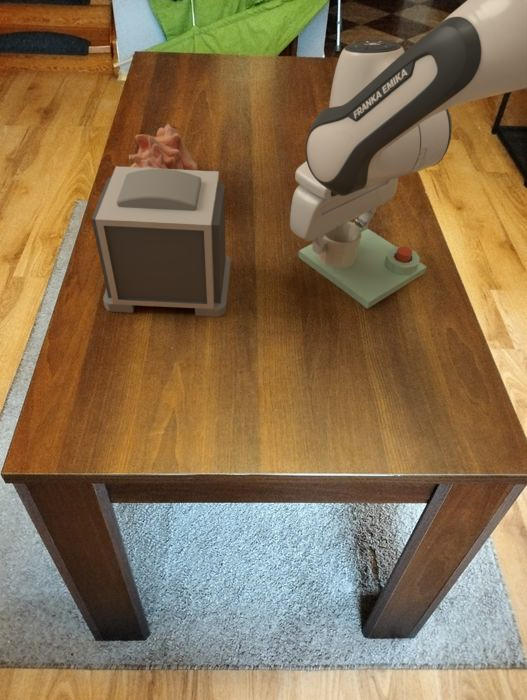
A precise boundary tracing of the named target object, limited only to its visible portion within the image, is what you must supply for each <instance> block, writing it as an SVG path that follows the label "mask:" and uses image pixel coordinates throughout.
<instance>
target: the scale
mask: <svg viewBox="0 0 527 700" xmlns="http://www.w3.org/2000/svg"><path fill="white" fill-rule="evenodd" d="M353 223H354V224H355V221H354V222H353ZM312 246H313V243H311V244H309V245H307V246H305V247H303V248H300V249H299V250H298V255H297V256H298V257H297V258H299V259H300V260H301V261H302V262H304V263H305V264H307V265H308V266H309V267H311V268H312V270H313V269H314V270H315V271H316V272H317V273H319V274H320V275H321V276H323V277H324V278H326V279H327V280H328V281H329V282H331V283H332V284H333V285H335V286H336V287H337V288H338V289H340V290H342V291H343V292H344V293H346V294H347V295H348V296H350V297H351V298H352V299H354V300H355V301H356V302H358V303H359V304H361V306H363V307H365V308H366V309H370V308H372V306H374V305H376V304H377V303H379V302H381V301H382V300H384V299H386V298H387V297H389V296H390V295H392V294H394V293H395V292H397V291H398V290H400V289H402V288H404V287H405V286H408V284H410V283H411V282H413V281H414V280H416V279H418V278H419V277H422V276H423V275H425V274H426V271H427V268H428V266H426V265H425V264H423V263H422V262H420V260H421V257H420V256H419V254H418V252H416V251H415V250H413V249H411V250H412V255H411V259H410V261H409V262H408V263H403V262H399V261H397V260H396V258H395V257H396V253H397V249H398V248H399V247H400V246H396V245H394V244H392V243H391V242H390V241H388V240H386V239H385V238H383V237H382V236H380V235H379V234H378V233H376V232H374V231H372V230H371V229H369V227H368V228H367V230H365V231H363V232H361V240H360V245H359V250H358V255H357V259H356V262H355V263H354V264H353V265H352V266H350V267H348V268H344V269H334V268H330V267H327V266H325V265H323V264H322V263H321V262H320V261H319V260H318V258H317V253H316V252H314V251H313V249H312Z"/></svg>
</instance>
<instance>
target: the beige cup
mask: <svg viewBox="0 0 527 700" xmlns="http://www.w3.org/2000/svg"><path fill="white" fill-rule="evenodd" d="M321 239H323V241H325V242H327V243H328V244H327V247H326V248H327V250H326V251H325V252H323V253H321V254H317V258H318V260H319V261H320V262H321V263H322V264H323V265H325V266H327V267H330V268H334V269H344V268H348V267H350V266H352V265H353V264H354V263H355V262H356V259H357V255H358V250H359V245H360V240H361V230H360V228H359V227H358V226H357V225H355V224H354V222H352V221H349V222H347V223H345V224H343V225H341V226H339V227H337V228H335V229H333V230H331V231H329V232H327V233H325V235H324V237H323V238H321Z"/></svg>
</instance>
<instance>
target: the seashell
mask: <svg viewBox="0 0 527 700" xmlns="http://www.w3.org/2000/svg"><path fill="white" fill-rule="evenodd" d="M134 139H135V141H136V142H137V145H138V146H139V149H138V151H137V153H133V154H128V159H129V160H130V161H132V162H133V163H132V164H131V165H130V166H129V167H138V168H158V169H178V170H197V171H199V168H198V167H199V166H198V163H197V162H196V161H195V160H194V159H193V158H192V153H190V152H189V151H188V149H187V147H186V145H185V142H184V141H183V139H182V136H181V134H179V133H178V130H177V129H176V128H174V127H173V126H171V125H170V124H169V123H167V124H166V125H165V126H164V127H162V126H161V127H160V128H158V130H157V131H156V136H154V135H150V134H146V133H144V134H136V135H135V136H134Z"/></svg>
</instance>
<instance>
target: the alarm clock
mask: <svg viewBox="0 0 527 700" xmlns="http://www.w3.org/2000/svg"><path fill="white" fill-rule="evenodd" d="M225 186H226V185H225V183H224V182H222V181H220V171H216V170H198V171H197V170H178V169H158V168H138V167H130V166H118V165H117V166H116V165H115V168H114V170H113V172H112V175H111V176H109V177H108V178H107V179H106V181H105V184H104V186H103V189H102V191H101V193H100V196H99V199H98V202H97V204H96V206H95V210H94V211H93V213H92V216H91V223H92V228H93V233H94V237H95V243H96V247H97V252H98V256H99V260H100V264H101V271H102V274H103V279H104V284H105V291H104V294H103V296H102V301H103V305H104V308H105V310H106V311H108V312H110V313H129V314H131V313H132V314H133V313H134V311H135V308H136V306H140V307H141V306H142V307H164V308H165V307H166V308H183V309H184V308H185V309H194V316H196V317H214V318H219V317H223V316H224V315H225V314H226V313H227V305H228V297H229V296H228V294H229V287H230V278H231V276H230V275H231V267H232V258H231V257H230V255H228V254H226V196H225V195H226V187H225Z"/></svg>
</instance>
